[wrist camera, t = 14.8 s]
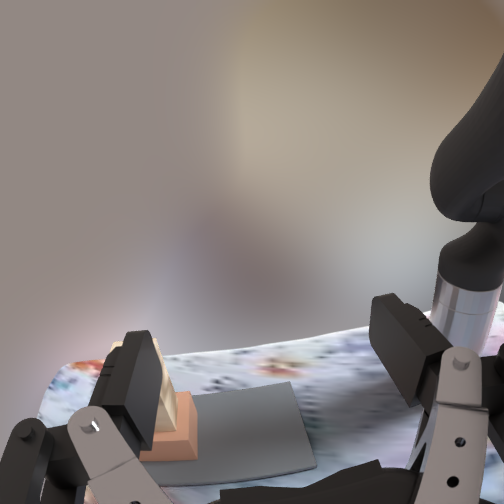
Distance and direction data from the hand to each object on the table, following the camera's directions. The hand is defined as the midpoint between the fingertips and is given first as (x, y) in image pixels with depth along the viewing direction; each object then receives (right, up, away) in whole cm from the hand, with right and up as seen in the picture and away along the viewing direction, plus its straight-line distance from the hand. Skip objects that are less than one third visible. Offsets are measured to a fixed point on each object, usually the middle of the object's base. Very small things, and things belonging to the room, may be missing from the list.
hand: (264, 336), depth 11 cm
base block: (-11, -21, +24) cm, 34 cm away
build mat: (-5, -20, +25) cm, 32 cm away
